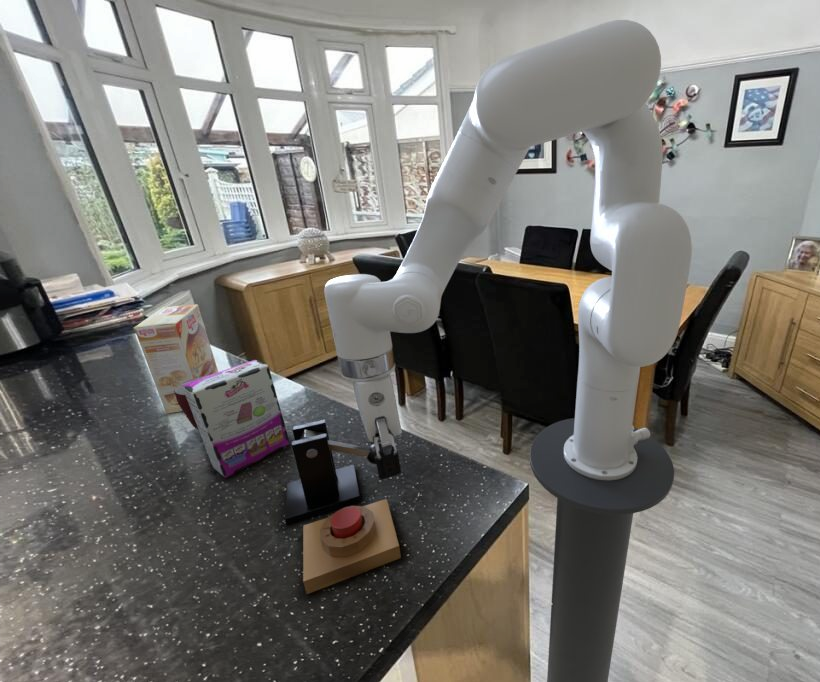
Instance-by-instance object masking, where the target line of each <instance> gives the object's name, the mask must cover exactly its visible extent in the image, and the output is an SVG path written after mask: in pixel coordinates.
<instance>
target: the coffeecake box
mask: <svg viewBox="0 0 820 682" xmlns="http://www.w3.org/2000/svg"><path fill="white" fill-rule="evenodd" d="M133 330H134V332H135V334H136V338H137V340H138V342H139V346H140V349H141V351H142V353H143V356H144V359H145V361H146V364H147V366H148V369H149V372H150V374H151V377H152V380H153V382H154V385H155V389H156V392H157V393H158V395H159V399H160V401H161V404H162V406H163V409H164V413H165V414H166V415H168V414H173V413H179V412H183V411H182V409H181V407H180V406H179V404H178V402H177V399H176V396H175V393H174V390H175V388H176V387H177V386H179V385H180V384H182V383H184V382H186V381H188V380H191V379H194V378H198V377H202V376H208V375H212V374H215V373H218V372H219V369H218V366H217V362H216V360H215V356H214V353H213V350H212V347H211V343H210V340H209V336H208V334H207V330H206V326H205V322H204V320H203V317H202V314H201V310H200V306H199V304H197V303H196V304H184V305H182V304H181V305H175V306H174V305H173V306H162V307H161V308H160V309H158V310H157V311H155V312H154V313H153V314H151V315H150V316H148V317H147V318H145V319H144V320H142V321H141V322H140V323H138V324H137V325H135V326H134V327H133Z"/></svg>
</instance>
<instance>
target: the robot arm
mask: <svg viewBox="0 0 820 682" xmlns="http://www.w3.org/2000/svg"><path fill="white" fill-rule="evenodd" d="M661 68H662V55H661V50H660V46H659V44H658V41H657V39H656V37H655V36H654V35H653V34H652V32H651V30H650V29H648V28H647V27H646V26H645V25H643V24H641V23H639V22H637V21H633V20H630V19H614V20H610V21H606V22H603V23H600V24H597V25H594V26H591V27H588V28H586V29H582V30H580V31H577V32H574V33H571V34H568V35H565V36H562V37H559V38H556V39H553V40H551V41H548V42H545V43H541V44H539V45H536V46H533V47H530V48H527V49H524V50H522V51H518V52H515V53H513V54H509V55H508V56H506V57H505V56H504V57H502V58H501V59H499V60H497V61H495V62H494V63H492V64H491V65H490V66H489V67H487V68H486V70H485V71H484V72H483V73H482V74H481V76H480V78H479V80H478V81H477V83H476V86H475V91H474V95H473V99H472V101H471V103H470V105H469V108H468V110H467V112H466V114H465V117H464V118H463V121H462V123H461V125H460V127H459V129H458V130H457V133H456V135H455V137H454V139H453V141H452V143H451V145H450V148H449V150H448V152H447V154H446V156H445V158H444V159H443V162H442V165H441V166H440V168H439V170H438V172H437V175H436V176H435V178H434V181H433V182H432V185H431V187H430V189H429V192H428V195H427V197H426V200H425V207H424V211H423V215H422V219H421V221H420V224H419V226H418V229H417V230H416V232H415V236H414V238H413V239H412V242H411V243H410V246H409V247H408V250H407V252H406V253H405V256H404V258H403V260H402V262H401V264H400V266H399V268H398V270H397V271H396V274H395V275H394V276H393V277H392V278H391V279H389V280H387V281H381V279H380V278H378V277H377V276H376V275H372V274H367V273H357V274H346V275H341V276H337V277H334V278H332V279H330V280H328V281H327V282H326V284H325V285H324V289H323V293H324V299H325V305H326V309H327V315H328V317H329V318H328V319H329V322H330V328H331V332H332V336H333V337H332V338H333V341H334V346H335V350H336V357H337V361H338V365H339V370H340V376H341V378H342V379H343V380H344V381H347V382H351V383H352V388H353V392H354V396H355V401H356V404H357V409H358V413H359V416H360V419H361V423H362V425H363V428H364V431H365V434H366V437H367V440H368V442H369V443H370V444H372V445H373V444H374V445H375V450H376V454H377V456H375V459H376V464H375V465H376V469H377V474H378V478H379V480H381V481H382V480H385V479H388V478H391V477H395V476H398V475H400V474H401V473H402V469H401V462H400V456H399V451H398V449H397V446H396V443H395V438H394V437H397V436H401V435H402V433H403V431H402V430H403V429H402V426H401V420H400V415H399V410H398V405H397V400H396V394H395V390H394V389H395V388H394V384H393V379H392V375H391V374H392V373H393V372H394V371H395V369H396V362H395V354H394V349H393V347H394V346H393V342H392V336H391V335H392V334H391V333H392V332H393V333H400V334H416V333H421V332H424V331H426V330H428V329H430V328H431V327H432V326H434V324H435V323H436V322H437V319H438V317H439V315H440V310H441V305H442V296H443V294H444V292H445V289H446V288H447V286H448V283H449V281H450V280H451V278H452V276H453V274H454V272H455V270H456V268H457V267H458V265H459V262H460V261H461V260H462V258H463V256H464V254H465V253H466V251H467V249H469V247H470V246H471V244H472V243H473V242H474V241H475V240H477V238H478V237H479V236H481V235H482V234H483V232H484V231H486V229H487V227H488V226H489V224H491V221H492V219H493V217H494V216H495V214H496V212H497V210H498V208H499V206H500V204H501V203H502V200H503V198H504V197H505V194H506V193H507V191H508V189H509V187H510V185H511V183H512V182H513V180H514V178H515V176H516V174H517V172H518V171H519V169H520V167H521V165H522V163H523V162H524V160H525V158H526V155H527V154H528V152H529V150H530V149H531V147H535V146H539V145H542V144H545V143H548V142H552V141H556V140H559V139H561V138H566V137H569V136H571V135H574V134H577V133H580V132H582V133H583V134H584V135H585V137H586V139H587V140H588V142H589V144H590V146H591V149H592V152H593V158H594V192H593V204H592V214H591V215H592V216H591V227H590V237H589V244H590V250H591V253H592V255H593V257H594V258H595V260H596V261H597V262H598V263H599V264H600V265H602V266H603V267H605V268H606V269H608V270H609V271H611V276H606V277H605V276H604V277H601V278H598V279H597V280H595V281H594V282H591V284H590V285H588V286H587V287H586V289H585V290H584V292H583V293H582V295H581V298H580V301H579V304H578V311H577V326H578V347H579V348H578V351H579V352H578V367H577V369H578V370H577V381H576V394H575V395H576V396H575V397H576V398H575V407H574V408H575V409H574V418H575V422H574V435H573V436H571V437H570V438H569V439H568V440H567V441H566V443H565V445H564V457H565V460H566V462H567V463H568V464H569V466H570V467H571V468H573V469H574V470H575V471H577V472H578V473H580V474H582V475H584V476H586V477H589V478H593V479H597V480H618V479H621V478H624V477H626V476H628V475H630V474H631V473H632V472H633V471H634V470H635V468H636V465H637V458H638V457H637V453H636V451H635V449H634V448H633V447H634V445H636V444H637V442H638V441H642V440H644V439H647V438H649V437H650V436H651V432H650V430H649V429H648V427H642V428H638V429H639V430H637V431H635V432H633V431H634V427H635V426H634V425H633V423H634V416H635V409H636V402H637V394H638V386H639V381H640V375H641V368H643V367H648V366H651V365H653V364H655V363H657V362H659V361H661V360H662V359H663V358H664V357H665V356H666V355H667V353H669V352H670V350H671V349H672V347H673V345H674V344H675V340H676V338H677V336H678V333H679V331H680V330H679V329H680V325H681V321H682V316H683V309H684V304H685V299H686V298H685V297H686V292H687V287H688V280H689V274H690V268H691V262H692V254H693V253H692V252H693V244H692V243H693V242H692V236H691V232H690V229H689V226H688V223H687V222H686V221H685V219H684V217H683V216H682V215H681V214H680V213H679V212H678V211H677V210H675V209H674V208H672V207H670V206H668V205H666V204H663V203H660V197H661V196H660V195H661V185H662V173H663V172H662V171H663V161H664V159H663V157H664V155H663V153H664V152H663V151H664V150H663V140H662V135H661V131H660V128H659V125H658V123H657V120H656V118H655V116H654V114H653V112H652V111H651V109H650V107H649V105H648V104H647V102H648V100H649V99H650V98H651V96H652V95H653V93H654V91H655V89H656V87H657V85H658V82H659V79H660V75H661ZM379 443H380V444H381V446H382V448H380V449H379V445H378V444H379Z"/></svg>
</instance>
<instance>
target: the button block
mask: <svg viewBox="0 0 820 682" xmlns="http://www.w3.org/2000/svg"><path fill="white" fill-rule="evenodd" d="M349 507H356V508H358V509H359V510H360V512H361V516H362V521H363V525H362V528H361V529H360V531H359V532H358V533H356V534H355V535H354V536H351V537H348V538H344V539H341V538H337V537H336V536H335V535H334V534H333V530H332V526H331V519H332V517H333V515H334V514H335V513H336V512H337V511H339V510H340V509H337V511H335V512H334V513H332V514H331V515H330V516H328V517H324V518H322V519H319V520H316V521H313V522H310V523H307V524H304V525H303V526H302V535H303V536H302V582H303V586H304V590H305V593H306V595H309V594H311V593H314V592H316V591H319V590H321V589H324V588H327V587H330V586H332V585H334V584H335V585H336V584H337V583H340V582H343V581H345V580H348V579H350V578H353V577H355V576H358V575H360V574H363V573H366V572H369V571H371V570H374V569H376V568H379V567H381V566H384V565H386V564H389V563H391V562H394V561H397V560H399V559H401V558H402V556H401V555H402V554H401V550H400V543H399V540H398V537H397V532H396V528H395V525H394V521H393V517H392V513H391V510H390V506H389V502H388V499H387V498H384V499H382V500H378V501H375V502H372V503H369V504H366V505H349Z"/></svg>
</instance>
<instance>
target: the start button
mask: <svg viewBox="0 0 820 682" xmlns="http://www.w3.org/2000/svg"><path fill="white" fill-rule="evenodd" d="M338 510H339V511H338ZM338 510H336V511H335V512H336V513H335V512H334V513H335V514H334V513H333V514H334V515H333V514H332V515H333V517H332V519H331V526H332V530H333V534H334V535H335V536H336V537H337V538H341V539H344V538H348V537H351V536H354V535H355V534H356V533H358V532H359V531H360V529H361V528H362V525H363V521H362V516H361V512H360V510H359V509H358V508H356V507H350V506H346V507H343V508H340V509H338Z"/></svg>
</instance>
